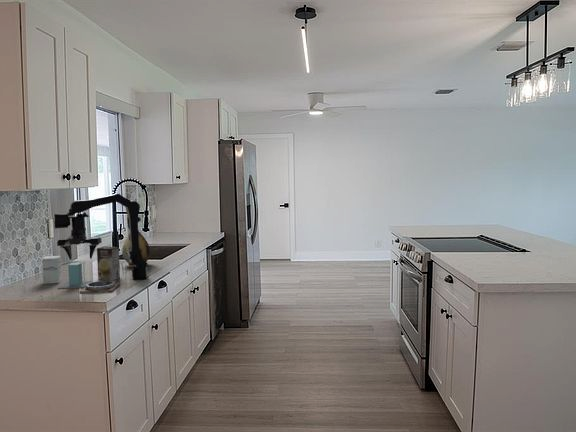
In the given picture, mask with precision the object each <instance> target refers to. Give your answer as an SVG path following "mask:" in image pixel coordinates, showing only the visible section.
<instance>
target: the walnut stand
mask: <svg viewBox="0 0 576 432" xmlns="http://www.w3.org/2000/svg"><path fill="white" fill-rule="evenodd" d="M120 285H121V283H120V282H115V286H114V287H113V288H111V289H108V290H86V287H85V288H81V290H80V291H79V294H99V293H98V292H108V293H113V292H114V291H116V289H118V287H119V286H120Z"/></svg>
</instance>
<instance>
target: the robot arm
mask: <svg viewBox="0 0 576 432" xmlns="http://www.w3.org/2000/svg"><path fill="white" fill-rule="evenodd" d="M113 203H118V204H119V205H121V206H123V207H125V211H126V215H127V217H128V218H129V226H128V228H130V229H129V233H130V244H131V247H130V250H127V253H128V256H127V258H128V259H129V261H130V262H132V263H133V265H134V267H132V270H131V275H132V276H131V277H132V280H147V278H148V277H149V276H148V262H145V261H144V260H143V257H142V253H141V250H140V247H139V235H138V230H139V222H138V217H139V213H140V208H141V207H140V204H139V202H137V200H130V199H128V198H127V197H124V196H123V195H122V194H120V193H114V194H110V195H106V196H100V197H96V198H92V199H80V200H79V199H78V200H74V201H71V203H70V206H69V207H70V208H69V209H68V211H67V212H66V213H54V214H53V216H54V217H53V223H54V225H53V226H54V229H67V228H69V227H70V226H71V230H70V231H71V233H70V234H69V236H68V237H67V238H60V239H58V240H57V242H56V246H57V247H60V248H63V250H64V251H65V253H66V254H67V256H68V258H69V260H70V261H72V257H73V254H72V245H77V246H78V245H80V244H89V245H88V247H89V259H90V260H92V258H93V254H94V252H95V249H97V246H98V245H100V244H102V238H101V236H98V237H97V236H96V237H95V236H94V237H93V236H92V237H90V238H89V239H87V236H86V235H87V234H86V231H87V228H86V218H89V217H90V216H89V215H88V214H87V212H86V211H89V210H90V209H92V208H95V207H99V206H103V205H108V204H113Z"/></svg>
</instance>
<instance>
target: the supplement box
mask: <svg viewBox="0 0 576 432" xmlns="http://www.w3.org/2000/svg"><path fill="white" fill-rule="evenodd" d="M61 257H62V256H61V255H52V256H51V255H47V256H44V257H42V258H41V264H42V265H41V266H42V267H41V268H42V284H43V285H45V284H59V283H61V281H62V280H63V279H62V258H61Z"/></svg>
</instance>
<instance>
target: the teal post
mask: <svg viewBox="0 0 576 432" xmlns="http://www.w3.org/2000/svg"><path fill="white" fill-rule="evenodd" d="M67 267H68V282H69V286H76V285H80V284H82V281H83V272H82V262H71V263H69V264H68V265H67Z"/></svg>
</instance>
